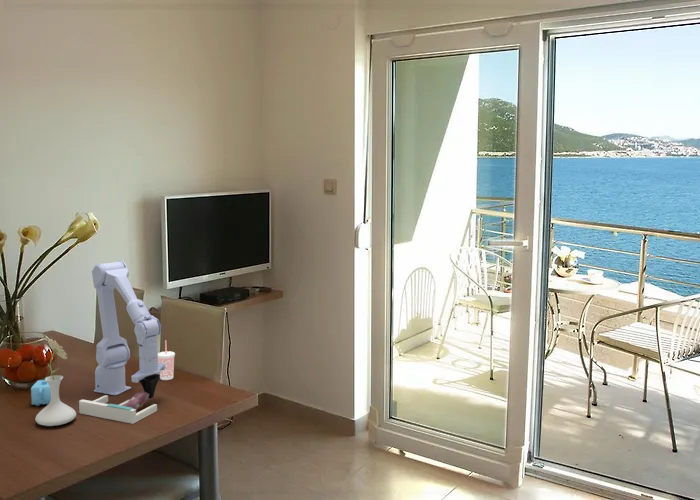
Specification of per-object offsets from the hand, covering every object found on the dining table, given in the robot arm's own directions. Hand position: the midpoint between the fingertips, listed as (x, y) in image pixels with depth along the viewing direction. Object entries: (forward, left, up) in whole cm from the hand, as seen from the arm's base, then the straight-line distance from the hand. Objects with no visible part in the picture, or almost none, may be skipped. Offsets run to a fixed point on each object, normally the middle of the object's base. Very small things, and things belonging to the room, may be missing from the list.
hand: (149, 397), depth 223 cm
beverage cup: (-11, +24, -3) cm, 26 cm away
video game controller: (-1, -6, -3) cm, 6 cm away
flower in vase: (-17, -22, -3) cm, 28 cm away
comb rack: (-5, -8, -2) cm, 10 cm away
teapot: (-32, -11, -3) cm, 34 cm away
